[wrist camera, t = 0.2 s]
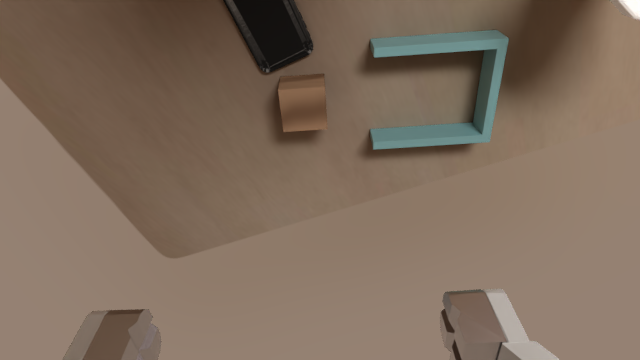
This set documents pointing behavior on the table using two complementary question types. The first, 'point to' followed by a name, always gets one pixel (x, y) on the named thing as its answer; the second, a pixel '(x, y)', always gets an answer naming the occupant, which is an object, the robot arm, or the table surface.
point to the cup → (628, 8)
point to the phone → (271, 31)
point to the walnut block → (303, 102)
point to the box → (486, 97)
